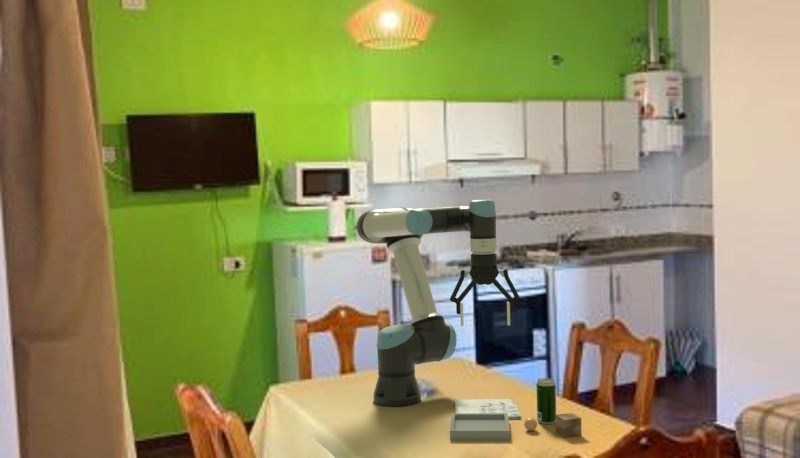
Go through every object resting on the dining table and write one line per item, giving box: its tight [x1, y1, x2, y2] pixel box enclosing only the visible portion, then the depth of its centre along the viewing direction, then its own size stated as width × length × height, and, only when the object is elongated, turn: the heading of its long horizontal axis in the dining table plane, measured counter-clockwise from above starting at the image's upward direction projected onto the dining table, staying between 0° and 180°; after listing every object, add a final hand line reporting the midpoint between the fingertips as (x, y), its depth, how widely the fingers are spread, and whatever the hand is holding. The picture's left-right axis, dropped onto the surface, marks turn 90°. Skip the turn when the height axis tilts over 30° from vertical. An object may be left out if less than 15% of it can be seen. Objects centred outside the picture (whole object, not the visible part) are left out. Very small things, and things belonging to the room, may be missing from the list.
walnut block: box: [555, 412, 582, 439], centre depth 223 cm, size 5×5×5 cm
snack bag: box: [453, 398, 522, 420], centre depth 248 cm, size 19×20×2 cm
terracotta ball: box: [523, 417, 538, 432], centre depth 227 cm, size 4×4×4 cm
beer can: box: [536, 377, 557, 425], centre depth 234 cm, size 5×5×12 cm
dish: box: [449, 413, 511, 441], centre depth 229 cm, size 16×16×2 cm
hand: (485, 325), depth 241 cm, fingers open, 13 cm apart
